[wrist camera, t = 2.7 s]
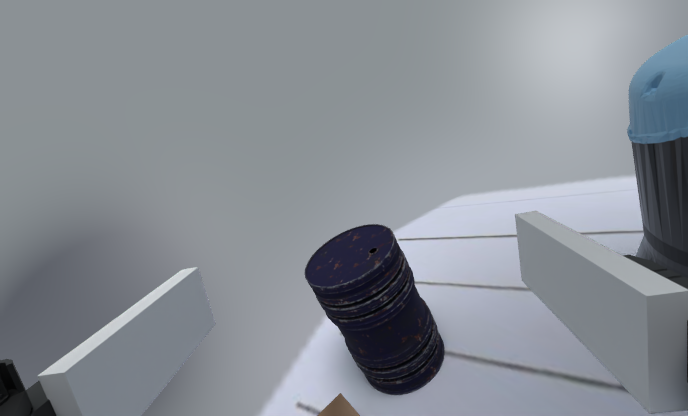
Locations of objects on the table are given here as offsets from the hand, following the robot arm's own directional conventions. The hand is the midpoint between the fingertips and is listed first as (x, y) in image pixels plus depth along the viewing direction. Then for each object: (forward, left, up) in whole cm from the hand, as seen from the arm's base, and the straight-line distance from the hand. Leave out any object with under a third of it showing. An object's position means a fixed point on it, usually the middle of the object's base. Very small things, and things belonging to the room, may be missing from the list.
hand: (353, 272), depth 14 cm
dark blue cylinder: (-6, -17, -24) cm, 30 cm away
